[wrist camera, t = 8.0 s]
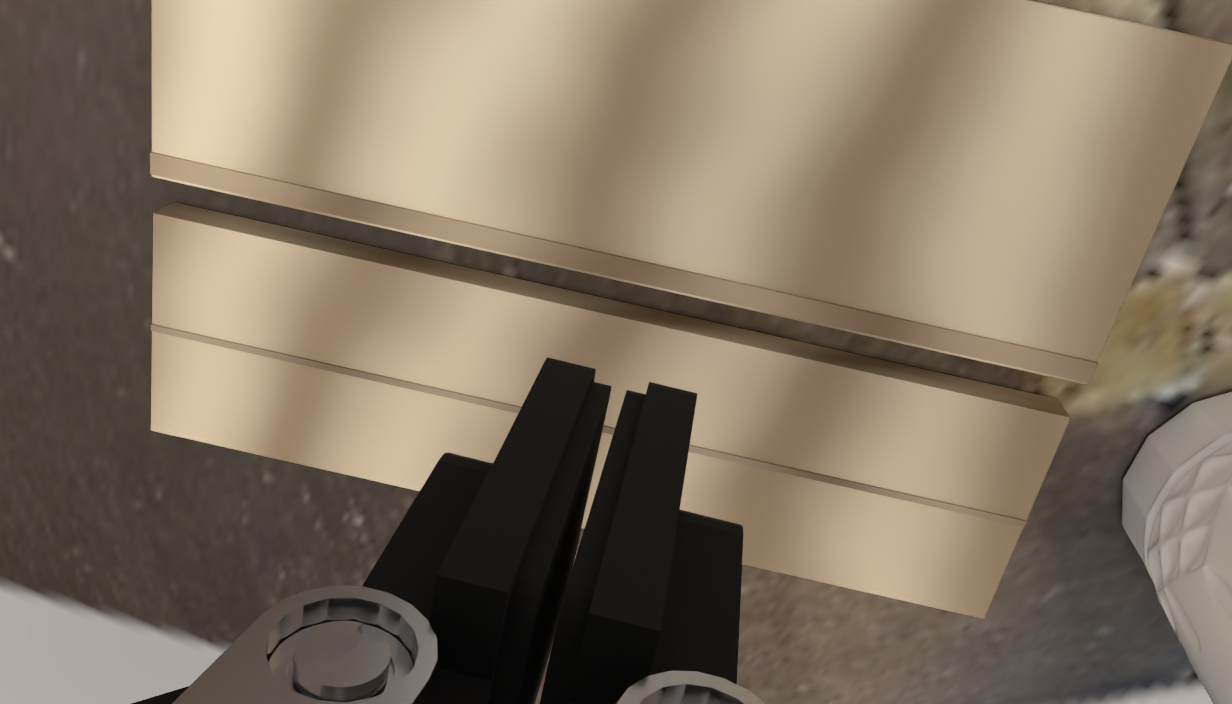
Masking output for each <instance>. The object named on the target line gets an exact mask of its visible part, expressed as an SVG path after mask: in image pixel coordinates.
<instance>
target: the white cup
mask: <svg viewBox="0 0 1232 704" xmlns="http://www.w3.org/2000/svg"><path fill="white" fill-rule="evenodd" d="M1122 526H1123V528H1124V530H1125V531H1126V533H1127V535H1128V537H1129V538H1130V540H1131V542H1132V543H1133V545H1134V547H1135V549H1136V550H1137V552H1138V554H1139V555H1140V557H1141V559H1142V561H1143V562H1144V564H1145V566H1146V568H1147V571H1148V573H1149V575H1150V577H1151V579H1152V581H1153V583H1154V586H1155V589H1156V592H1157V599H1158V601H1159V602H1160V604H1161V606H1162V607H1163V609H1164V611H1165V613H1166V616H1167V618H1168V620H1169V622H1170V624H1171V626H1172V628H1173V630H1174V632H1175V634H1176V636H1177V637H1178V639H1179V641H1180V642H1181V644H1182V645H1183V647H1184V650H1185V652H1186V654H1187V656H1188V659H1189V661H1190V663H1191V665H1192V667H1193V669H1194V671H1195V673H1196V674H1197V676H1198V678H1199V679H1200V681H1201V683H1202V684H1203V686H1204V688H1205V690H1206V691H1207V693H1208V695H1209V697H1210V698H1211V700H1212V702H1213V704H1232V392H1228V393H1225V394H1221V395H1218V396H1214V397H1211V398H1207V399H1204V400H1200V401H1197V402H1194V403H1192V404H1191V405H1189V406H1188V407H1187V408H1185V409H1184V410H1182V411H1181V412H1180V413H1178V414H1177V415H1176V416H1174V417H1173V418H1172V419H1170V420H1169V421H1168V422H1166V423H1165V424H1164V425H1162V426H1161V427H1159V428H1158V429H1157V430H1155V431H1154V432H1153V433H1151V434H1150V435H1149V436H1148V437H1147V439H1146V440H1145V442H1144V444H1143V445H1142V447H1141V449H1140V451H1139V452H1138V454H1137V456H1136V458H1135V459H1134V461H1133V463H1132V464H1131V466H1130V468H1129V470H1128V471H1127V473H1126V475H1125V476H1124V478H1123V492H1122Z"/></svg>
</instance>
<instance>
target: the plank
mask: <svg viewBox="0 0 1232 704" xmlns="http://www.w3.org/2000/svg"><path fill="white" fill-rule="evenodd" d="M1231 59H1232V45H1231V44H1228V43H1224V42H1221V41H1218V40H1214V39H1209V38H1205V37H1200V36H1195V35H1191V34H1186V33H1182V32H1177V31H1172V30H1168V29H1163V28H1159V27H1154V26H1149V25H1145V24H1140V23H1136V22H1131V21H1126V20H1122V19H1117V18H1113V17H1108V16H1103V15H1099V14H1094V13H1090V12H1085V11H1080V10H1076V9H1071V8H1067V7H1062V6H1057V5H1053V4H1048V3H1044V2H1039V1H1034V0H152V152H151V153H150V174H152V177H155V178H160V179H164V180H169V181H173V182H178V183H182V184H187V185H191V186H196V187H200V188H205V189H209V190H214V191H218V192H223V193H227V194H232V195H236V196H241V197H245V198H250V199H254V200H259V201H263V202H268V203H272V204H277V205H281V206H286V207H290V208H295V209H299V210H304V211H308V212H313V213H317V214H322V215H326V216H331V217H335V218H340V219H344V220H349V221H353V222H358V223H362V224H367V225H371V226H376V227H380V228H385V229H389V230H394V231H398V232H403V233H407V234H412V235H416V236H420V237H425V238H429V239H434V240H438V241H443V242H447V243H452V244H456V245H461V246H465V247H470V248H474V249H479V250H483V251H488V252H492V253H497V254H501V255H506V256H510V257H515V258H519V259H524V260H528V261H533V262H537V263H542V264H546V265H551V266H555V267H560V268H564V269H569V270H573V271H578V272H582V273H587V274H591V275H596V276H600V277H605V278H609V279H614V280H618V281H623V282H627V283H632V284H636V285H641V286H645V287H650V288H654V289H659V290H663V291H668V292H672V293H677V294H681V295H686V296H690V297H695V298H699V299H703V300H708V301H712V302H717V303H721V304H726V305H730V306H735V307H739V308H744V309H748V310H753V311H757V312H762V313H766V314H771V315H775V316H780V317H784V318H789V319H793V320H798V321H802V322H807V323H811V324H816V325H820V326H825V327H829V328H834V329H838V330H843V331H847V332H852V333H856V334H861V335H865V336H870V337H874V338H879V339H883V340H888V341H892V342H897V343H901V344H906V345H910V346H915V347H919V348H924V349H928V350H933V351H937V352H942V353H946V354H951V355H955V356H960V357H964V358H969V359H973V360H978V361H982V362H986V363H991V364H995V365H1000V366H1004V367H1009V368H1013V369H1018V370H1022V371H1027V372H1031V373H1036V374H1040V375H1045V376H1049V377H1054V378H1058V379H1063V380H1067V381H1072V382H1076V383H1081V384H1085V385H1087V383H1090V381H1091V378H1092V376H1093V374H1094V372H1095V369H1096V367H1097V365H1098V363H1097V361H1098V358H1099V356H1100V354H1101V352H1102V349H1103V347H1104V345H1105V343H1106V340H1107V338H1108V336H1109V334H1110V331H1111V329H1112V327H1113V325H1114V322H1115V320H1116V318H1117V316H1118V313H1119V311H1120V309H1121V307H1122V304H1123V302H1124V300H1125V298H1126V295H1127V293H1128V291H1129V289H1130V286H1131V284H1132V282H1133V280H1134V277H1135V275H1136V273H1137V271H1138V268H1139V266H1140V264H1141V262H1142V259H1143V257H1144V255H1145V253H1146V250H1147V248H1148V246H1149V244H1150V241H1151V239H1152V237H1153V235H1154V232H1155V230H1156V228H1157V226H1158V223H1159V221H1160V219H1161V217H1162V215H1163V212H1164V210H1165V208H1166V206H1167V203H1168V201H1169V199H1170V197H1171V194H1172V192H1173V190H1174V188H1175V185H1176V183H1177V181H1178V179H1179V176H1180V174H1181V172H1182V170H1183V167H1184V165H1185V163H1186V161H1187V158H1188V156H1189V154H1190V152H1191V149H1192V147H1193V145H1194V143H1195V140H1196V138H1197V136H1198V134H1199V131H1200V129H1201V127H1202V125H1203V122H1204V120H1205V118H1206V116H1207V113H1208V111H1209V109H1210V107H1211V104H1212V102H1213V100H1214V98H1215V95H1216V93H1217V91H1218V89H1219V86H1220V84H1221V82H1222V80H1223V77H1224V75H1225V73H1226V71H1227V68H1228V66H1229V64H1230V62H1231Z"/></svg>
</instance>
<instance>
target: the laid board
mask: <svg viewBox="0 0 1232 704" xmlns="http://www.w3.org/2000/svg"><path fill="white" fill-rule="evenodd" d="M151 331H152V385H151V431H156V432H160V433H164V434H169V435H173V436H178V437H182V438H187V439H191V440H195V441H200V442H204V443H209V444H213V445H217V446H222V447H226V448H231V449H235V450H240V451H244V452H248V453H253V454H257V455H262V456H266V457H270V458H275V459H279V460H284V461H288V462H293V463H297V464H301V465H306V466H310V467H315V468H319V469H324V470H328V471H332V472H337V473H341V474H346V475H350V476H354V477H359V478H363V479H368V480H372V481H377V482H381V483H385V484H390V485H394V486H399V487H403V488H407V489H412V490H416V491H420V490H421V489H422V487H423V485H424V484H425V482H426V480H427V479H428V477H429V475H430V474H431V472H432V471H433V469H434V467H435V466H436V464H437V462H438V461H439V459H440V458H441V457H442V455H443V454H444V453H447V452H449V453H453V454H457V455H461V456H465V457H469V458H473V459H477V460H481V461H485V462H489V463H494V461H495V459H496V457H497V455H498V453H499V451H500V449H501V447H502V445H503V443H504V441H505V439H506V437H507V435H508V433H509V431H510V429H511V427H512V425H513V423H514V421H515V419H516V417H517V415H518V413H519V411H520V409H521V407H522V405H523V403H524V401H525V399H526V397H527V395H528V393H529V391H530V389H531V387H532V385H533V384H534V382H535V380H536V378H537V376H538V374H539V372H540V370H541V368H542V366H543V364H544V362H545V360H546V358H547V357H548V358H552V359H557V360H561V361H565V362H569V363H573V364H577V365H582V366H586V367H590V368H594V369H596V373H595V380H594V382H596V383H600V384H605V385H609V386H611V393H610V398H609V403H608V407H607V412H606V417H605V421H604V426H603V430H602V435H601V440H600V444H599V449H598V453H597V458H596V462H595V467H594V472H593V476H592V481H591V485H590V490H589V495H588V499H587V504H586V508H585V513H584V518H583V522H582V527H581V528H584V529H585V526H586V523H587V519H588V516H589V513H590V509H591V506H592V503H593V500H594V496H595V493H596V490H597V486H598V483H599V480H600V476H601V473H602V470H603V467H604V463H605V460H606V457H607V453H608V450H609V447H610V443H611V440H612V437H613V434H614V430H615V427H616V424H617V420H618V417H619V414H620V411H621V407H622V404H623V401H624V397H625V394H626V391H627V390H629V391H634V392H638V393H642V394H646V392H647V388H648V384H649V382H652V383H656V384H660V385H665V386H669V387H673V388H677V389H681V390H685V391H689V392H694V393H697V400H696V406H695V413H694V419H693V426H692V432H691V439H690V445H689V452H688V458H687V465H686V471H685V478H684V484H683V491H682V497H681V504H680V510H684V511H688V512H692V513H696V514H700V515H704V516H708V517H712V518H716V519H720V520H724V521H728V522H732V523H736V524H740V525H742V526H743V553H742V564H743V565H748V566H752V567H757V568H761V569H765V570H770V571H774V572H779V573H783V574H788V575H792V576H796V577H801V578H805V579H810V580H814V581H819V582H823V583H827V584H832V585H836V586H841V587H845V588H849V589H854V590H858V591H863V592H867V593H872V594H876V595H880V596H885V597H889V598H894V599H898V600H902V601H907V602H911V603H916V604H920V605H925V606H929V607H933V608H938V609H942V610H947V611H951V612H956V613H960V614H964V615H969V616H973V617H978V618H982V619H984V617H985V615H986V613H987V610H988V608H989V606H990V604H991V601H992V599H993V597H994V594H995V592H996V590H997V587H998V585H999V583H1000V580H1001V578H1002V576H1003V573H1004V571H1005V569H1006V566H1007V564H1008V562H1009V559H1010V557H1011V555H1012V553H1013V550H1014V548H1015V546H1016V543H1017V541H1018V539H1019V536H1020V534H1021V532H1022V529H1023V527H1025V525H1026V523H1027V521H1026V520H1027V518H1028V515H1029V513H1030V511H1031V508H1032V506H1033V504H1034V502H1035V499H1036V497H1037V495H1038V492H1039V490H1040V488H1041V485H1042V483H1043V481H1044V478H1045V476H1046V474H1047V471H1048V469H1049V467H1050V464H1051V462H1052V460H1053V457H1054V455H1055V453H1056V451H1057V448H1058V446H1059V444H1060V441H1061V439H1062V437H1063V434H1064V432H1065V430H1066V427H1067V425H1068V423H1069V420H1070V416H1069V415H1068V413H1067V412H1066V410H1065V409H1064V408H1063V406H1062V405H1061V403H1060V402H1059V400H1058V399H1055V398H1051V397H1046V396H1042V395H1037V394H1033V393H1028V392H1024V391H1019V390H1015V389H1010V388H1006V387H1001V386H997V385H992V384H988V383H984V382H979V381H975V380H970V379H966V378H961V377H957V376H952V375H948V374H943V373H939V372H934V371H930V370H925V369H921V368H916V367H912V366H907V365H903V364H898V363H894V362H889V361H885V360H880V359H876V358H871V357H867V356H862V355H858V354H853V353H849V352H844V351H840V350H835V349H831V348H827V347H822V346H818V345H813V344H809V343H804V342H800V341H795V340H791V339H786V338H782V337H777V336H773V335H768V334H764V333H759V332H755V331H750V330H746V329H741V328H737V327H732V326H728V325H723V324H719V323H714V322H710V321H705V320H701V319H696V318H692V317H687V316H683V315H678V314H674V313H669V312H665V311H661V310H656V309H652V308H647V307H643V306H638V305H634V304H629V303H625V302H620V301H616V300H611V299H607V298H602V297H598V296H593V295H589V294H584V293H580V292H575V291H571V290H566V289H562V288H557V287H553V286H548V285H544V284H539V283H535V282H530V281H526V280H521V279H517V278H512V277H508V276H504V275H499V274H495V273H490V272H486V271H481V270H477V269H472V268H468V267H463V266H459V265H454V264H450V263H445V262H441V261H436V260H432V259H427V258H423V257H418V256H414V255H409V254H405V253H400V252H396V251H391V250H387V249H382V248H378V247H373V246H369V245H364V244H360V243H355V242H351V241H346V240H342V239H338V238H333V237H329V236H324V235H320V234H315V233H311V232H306V231H302V230H297V229H293V228H288V227H284V226H279V225H275V224H270V223H266V222H261V221H257V220H252V219H248V218H243V217H239V216H234V215H230V214H225V213H221V212H216V211H212V210H207V209H203V208H198V207H194V206H189V205H185V204H181V203H176V202H175V203H173V204H171V205H169V206H167V207H165V208H163V209H161V210H159V211H157V212H155V213H153V297H152V324H151Z"/></svg>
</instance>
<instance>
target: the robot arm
mask: <svg viewBox="0 0 1232 704" xmlns="http://www.w3.org/2000/svg"><path fill="white" fill-rule="evenodd" d="M595 373H596V369H594V368H590V367H586V366H582V365H577V364H573V363H569V362H565V361H561V360H557V359H552V358H548V357H547V358H546V360H545V362H544V364H543V366H542V368H541V370H540V372H539V374H538V376H537V378H536V380H535V382H534V384H533V385H532V387H531V389H530V391H529V393H528V395H527V397H526V399H525V401H524V403H523V405H522V407H521V409H520V411H519V413H518V415H517V417H516V419H515V421H514V423H513V425H512V427H511V429H510V431H509V433H508V435H507V437H506V439H505V441H504V443H503V445H502V447H501V449H500V451H499V453H498V455H497V457H496V459H495V461H494V463H489V462H485V461H481V460H477V459H473V458H469V457H465V456H461V455H457V454H453V453H449V452H447V453H444V454H443V455H442V457H441V458H440V459H439V461H438V462H437V464H436V466H435V467H434V469H433V471H432V472H431V474H430V475H429V477H428V479H427V480H426V482H425V484H424V485H423V487H422V489H421V490H420V492H419V494H418V495H417V497H416V499H415V500H414V502H413V503H412V505H411V507H410V508H409V510H408V512H407V513H406V515H405V517H404V518H403V520H402V522H401V523H400V525H399V527H398V528H397V530H396V531H395V533H394V535H393V536H392V538H391V540H390V541H389V543H388V545H387V546H386V548H385V550H384V551H383V553H382V555H381V556H380V558H379V560H378V561H377V563H376V564H375V566H374V568H373V569H372V571H371V573H370V574H369V576H368V578H367V579H366V581H365V583H364V584H363V586H338V585H335V586H328V587H322V588H316V589H310V590H306V591H303V592H301V593H298V594H296V595H293V596H291V597H288V598H286V599H283V600H281V601H280V602H279V603H277V604H276V605H275V606H273V607H272V608H270V609H269V610H268V611H266V612H265V613H264V614H262V615H261V616H260V617H259V618H258V619H257V620H256V621H255V622H254V623H253V624H252V625H251V626H250V627H249V628H248V629H247V630H246V631H245V632H244V633H243V634H242V635H241V636H240V637H239V638H238V639H237V640H236V641H235V642H234V643H233V644H232V645H231V646H230V647H229V648H228V649H227V650H226V651H225V652H224V653H223V654H222V655H221V656H220V657H219V658H218V659H217V660H216V661H215V662H214V663H213V664H212V665H211V666H210V667H209V668H208V669H207V670H205V672H203V673H202V674H201V675H200V676H199V677H198V678H197V679H196V680H195V682H193V684H191V685H190V686H188V687H185V688H182V689H179V690H175V691H172V692H169V693H165V694H162V695H159V696H155V697H153V698H149V699H146V700H142V701H139V702H136V703H132V704H535V700H536V697H537V694H538V690H539V687H540V684H541V680H542V677H543V674H544V670H545V667H546V664H547V660H548V657H549V654H550V650H551V647H552V650H551V654H550V659H549V664H548V668H547V673H546V678H545V682H544V687H543V691H542V696H541V701H540V704H765V703H764V702H763V701H761V700H760V699H759V698H758V697H756V696H755V695H754V694H753V693H751V692H750V691H748V690H746V689H744V688H742V687H740V686H738V685H736V683H737V662H738V640H739V618H740V597H741V575H742V553H743V526H742V525H740V524H736V523H732V522H728V521H724V520H720V519H716V518H712V517H708V516H704V515H700V514H696V513H692V512H688V511H684V510H680V504H681V497H682V491H683V484H684V478H685V471H686V465H687V458H688V452H689V445H690V439H691V432H692V426H693V419H694V413H695V406H696V400H697V393H694V392H689V391H685V390H681V389H677V388H673V387H669V386H665V385H660V384H656V383H652V382H649V384H648V388H647V392H646V394H642V393H638V392H634V391H629V390H627V391H626V394H625V397H624V401H623V404H622V407H621V411H620V414H619V417H618V420H617V424H616V427H615V430H614V434H613V437H612V440H611V443H610V447H609V450H608V453H607V457H606V460H605V463H604V467H603V470H602V473H601V476H600V480H599V483H598V486H597V490H596V493H595V496H594V500H593V503H592V506H591V509H590V513H589V516H588V519H587V523H586V526H585V529H584V533H583V536H582V539H581V542H580V546H579V549H578V552H577V556H576V559H575V554H576V550H577V545H578V540H579V536H580V531H581V527H582V522H583V518H584V513H585V508H586V504H587V499H588V495H589V490H590V485H591V481H592V476H593V472H594V467H595V462H596V458H597V453H598V449H599V444H600V440H601V435H602V430H603V426H604V421H605V417H606V412H607V407H608V403H609V398H610V393H611V386H609V385H605V384H600V383H596V382H594V380H595ZM574 559H575V562H574ZM573 563H574V565H573ZM572 568H573V569H572ZM553 640H554V641H553ZM552 644H553V645H552Z"/></svg>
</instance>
